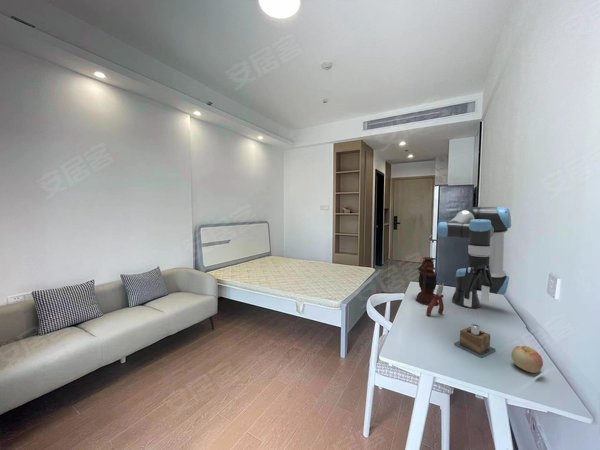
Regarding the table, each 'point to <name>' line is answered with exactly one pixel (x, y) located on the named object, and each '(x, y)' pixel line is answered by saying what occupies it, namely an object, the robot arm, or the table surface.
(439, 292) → the pliers
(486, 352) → the plate with upright peg
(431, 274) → the lantern
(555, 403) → the table surface
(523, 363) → the apple
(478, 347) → the brown boxy piece
